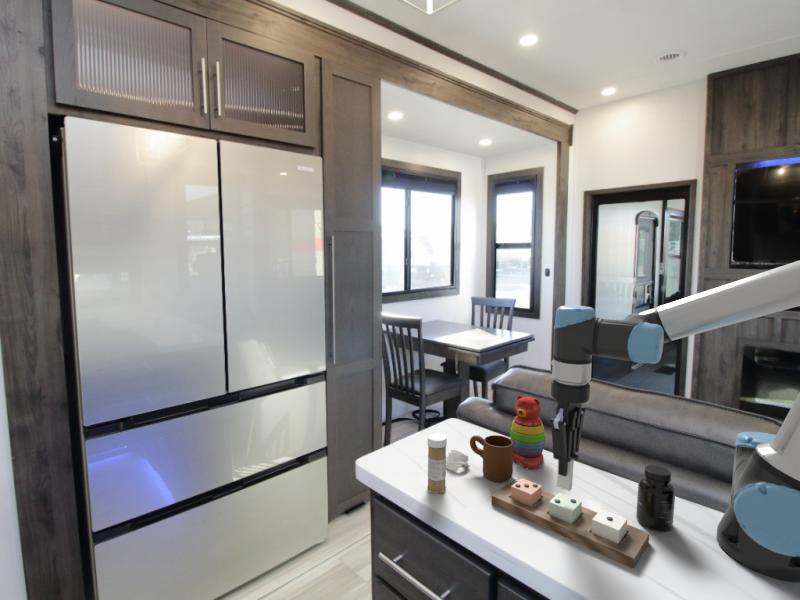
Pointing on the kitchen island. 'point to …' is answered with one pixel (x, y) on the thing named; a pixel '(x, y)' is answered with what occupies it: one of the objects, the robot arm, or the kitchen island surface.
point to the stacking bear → (528, 433)
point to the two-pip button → (565, 508)
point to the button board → (575, 527)
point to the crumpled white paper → (456, 460)
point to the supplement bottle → (656, 499)
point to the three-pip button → (526, 492)
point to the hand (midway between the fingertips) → (564, 487)
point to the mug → (495, 456)
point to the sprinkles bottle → (436, 463)
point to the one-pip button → (609, 526)
